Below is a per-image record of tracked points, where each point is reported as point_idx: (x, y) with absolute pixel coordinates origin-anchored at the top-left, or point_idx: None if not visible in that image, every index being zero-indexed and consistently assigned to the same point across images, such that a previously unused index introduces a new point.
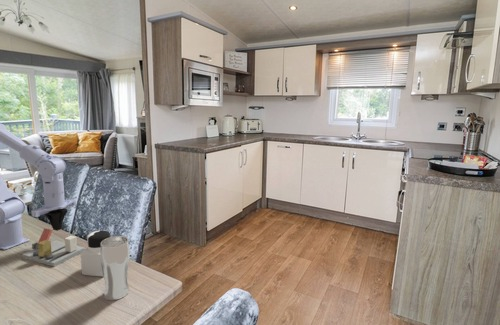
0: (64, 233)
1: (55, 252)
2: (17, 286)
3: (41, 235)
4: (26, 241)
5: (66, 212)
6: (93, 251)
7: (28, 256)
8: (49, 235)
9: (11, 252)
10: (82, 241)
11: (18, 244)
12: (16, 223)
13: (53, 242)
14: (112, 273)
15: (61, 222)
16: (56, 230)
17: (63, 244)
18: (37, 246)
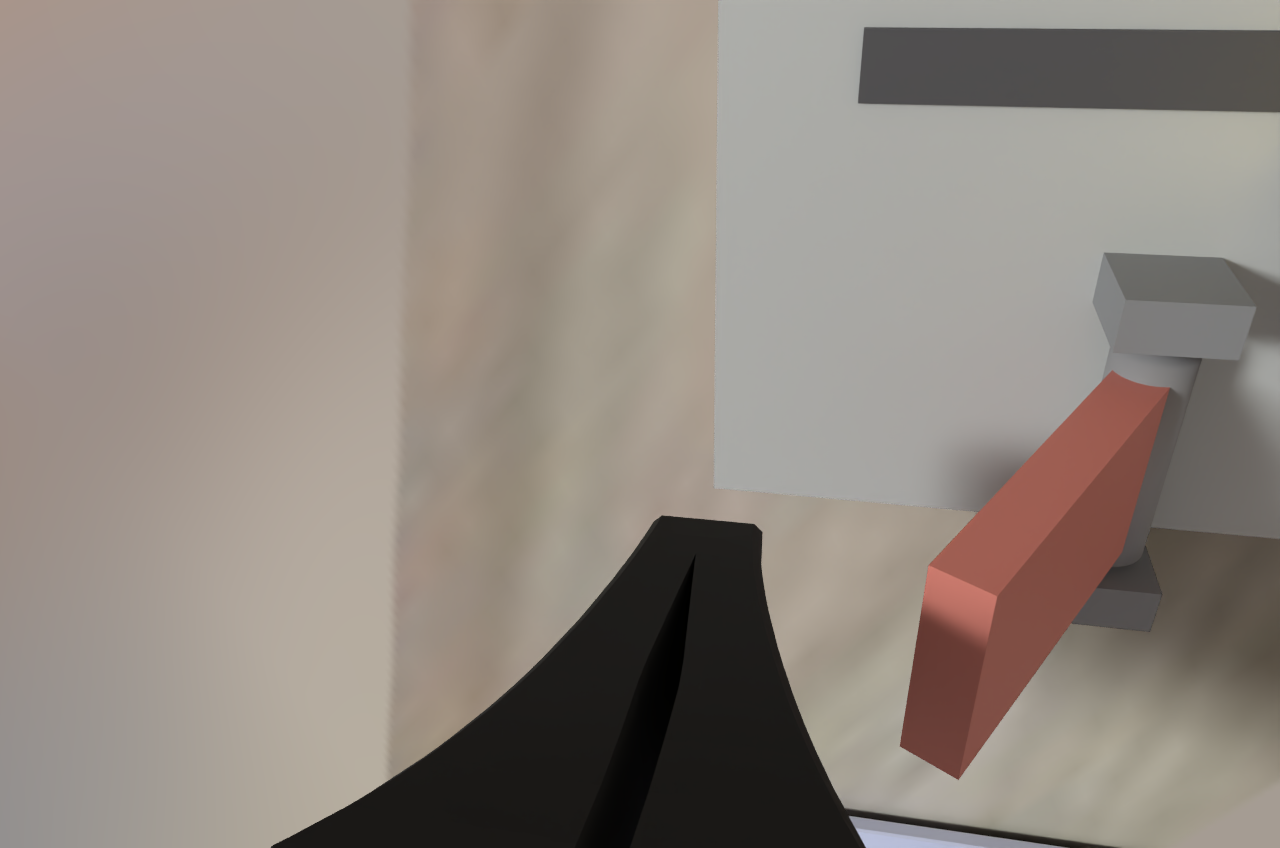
0: (411, 597)
1: (1206, 5)
2: None
3: (1040, 660)
4: (851, 818)
5: (321, 840)
6: None
7: None
8: (1031, 497)
9: (1190, 758)
10: (434, 62)
11: (967, 836)
12: None
13: (799, 448)
14: None
15: (613, 629)
16: (761, 549)
17: (794, 205)
18: (1154, 507)
